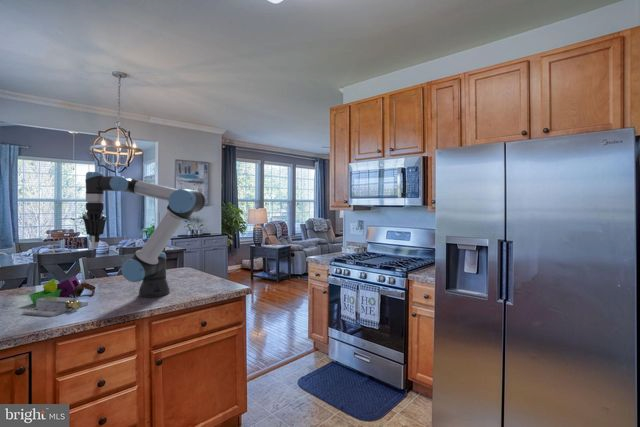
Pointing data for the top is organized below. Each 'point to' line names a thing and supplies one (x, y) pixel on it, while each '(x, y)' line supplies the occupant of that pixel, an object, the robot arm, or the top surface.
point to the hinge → (52, 306)
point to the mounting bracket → (68, 286)
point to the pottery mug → (80, 289)
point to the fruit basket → (46, 291)
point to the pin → (74, 305)
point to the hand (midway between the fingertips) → (94, 248)
